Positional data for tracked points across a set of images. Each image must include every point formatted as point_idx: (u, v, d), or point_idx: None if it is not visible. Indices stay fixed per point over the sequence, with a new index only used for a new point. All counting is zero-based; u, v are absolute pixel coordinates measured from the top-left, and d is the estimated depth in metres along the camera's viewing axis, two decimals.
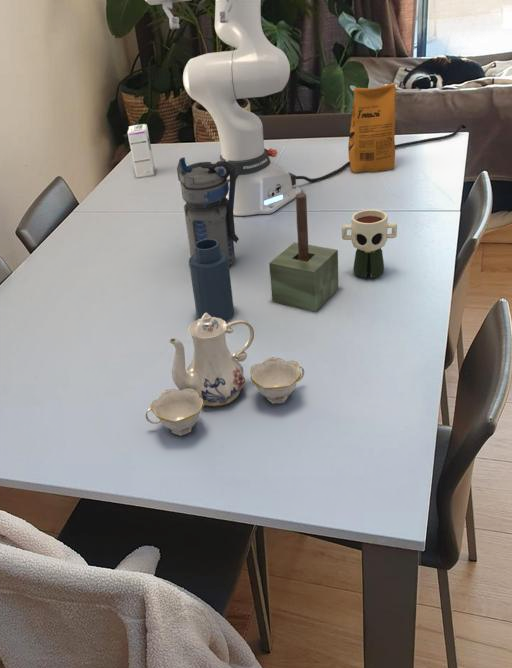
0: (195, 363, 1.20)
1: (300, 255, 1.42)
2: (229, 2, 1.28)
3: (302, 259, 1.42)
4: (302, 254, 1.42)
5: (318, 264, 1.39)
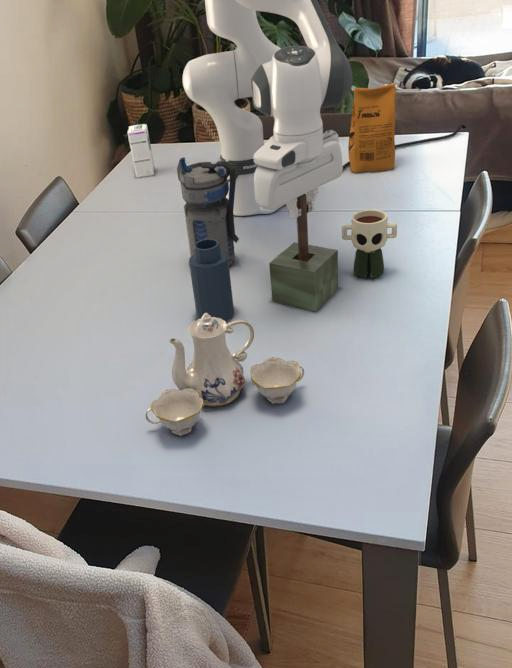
0: (195, 363, 1.20)
1: (300, 255, 1.42)
2: (315, 195, 1.37)
3: (302, 259, 1.42)
4: (302, 254, 1.42)
5: (318, 264, 1.39)
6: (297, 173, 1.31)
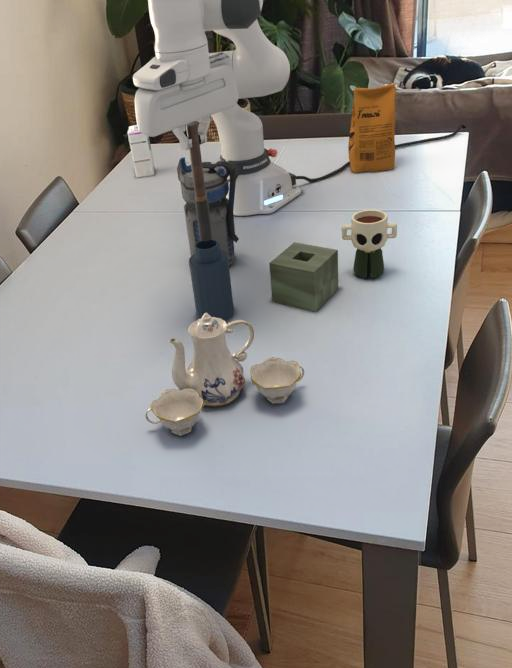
0: (195, 363, 1.20)
1: (196, 192, 1.31)
2: (207, 124, 1.26)
3: (198, 197, 1.32)
4: (198, 191, 1.31)
5: (318, 264, 1.39)
6: (182, 97, 1.20)
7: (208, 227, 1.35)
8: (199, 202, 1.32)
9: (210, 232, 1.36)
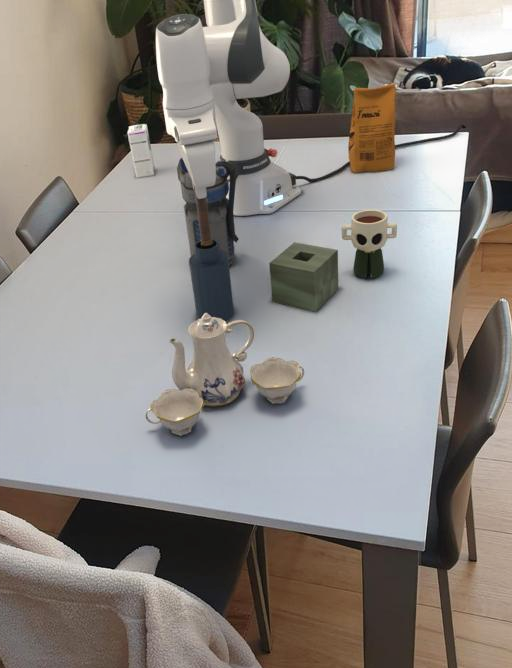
0: (195, 363, 1.20)
1: (207, 237, 1.36)
2: None
3: (209, 240, 1.37)
4: (208, 235, 1.36)
5: (318, 264, 1.39)
6: None
7: None
8: (211, 244, 1.37)
9: None
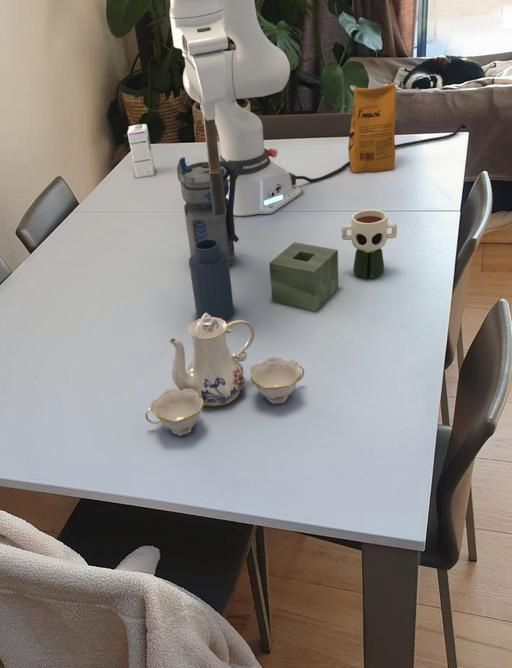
0: (195, 363, 1.20)
1: (215, 164, 1.29)
2: None
3: (218, 168, 1.29)
4: (217, 162, 1.29)
5: (318, 264, 1.39)
6: None
7: (224, 198, 1.34)
8: (219, 173, 1.30)
9: None
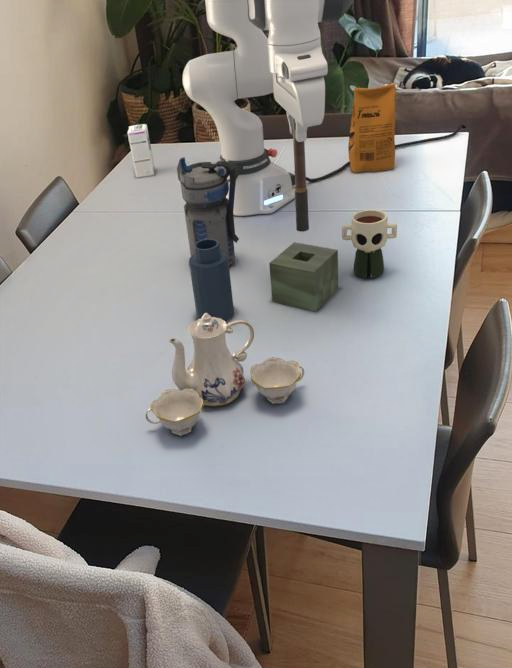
0: (195, 363, 1.20)
1: (302, 183, 1.34)
2: None
3: (304, 187, 1.34)
4: (304, 181, 1.34)
5: (318, 264, 1.39)
6: None
7: None
8: (305, 191, 1.34)
9: None
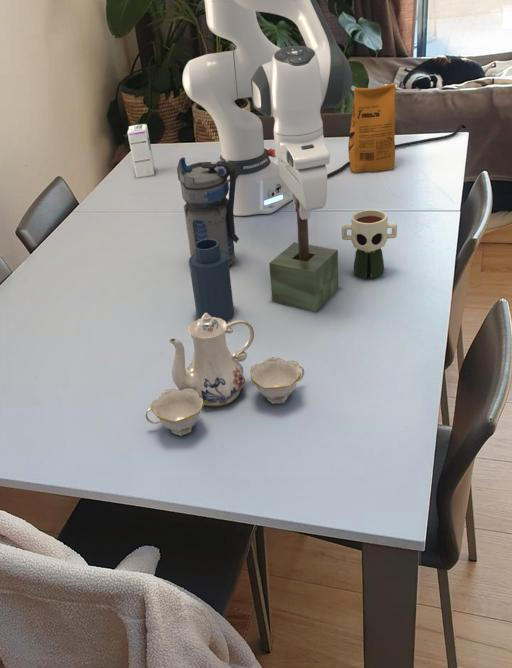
0: (195, 363, 1.20)
1: (305, 255, 1.42)
2: None
3: (307, 258, 1.42)
4: (307, 253, 1.42)
5: (318, 264, 1.39)
6: None
7: None
8: None
9: None
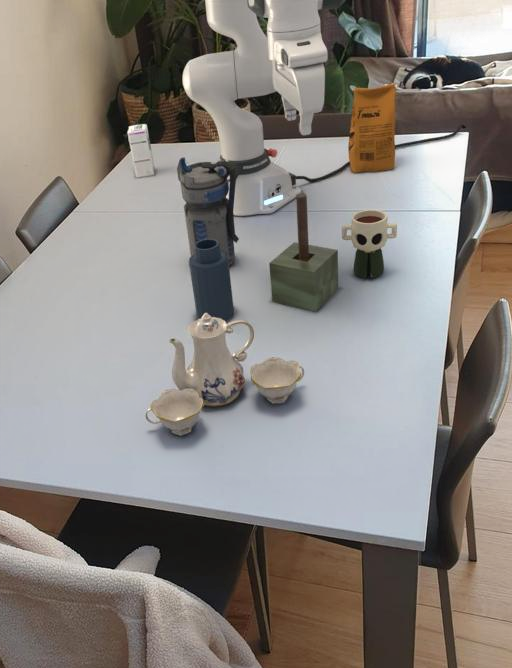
0: (195, 363, 1.20)
1: (305, 255, 1.42)
2: None
3: (307, 258, 1.42)
4: (307, 253, 1.42)
5: (318, 264, 1.39)
6: None
7: None
8: None
9: None
